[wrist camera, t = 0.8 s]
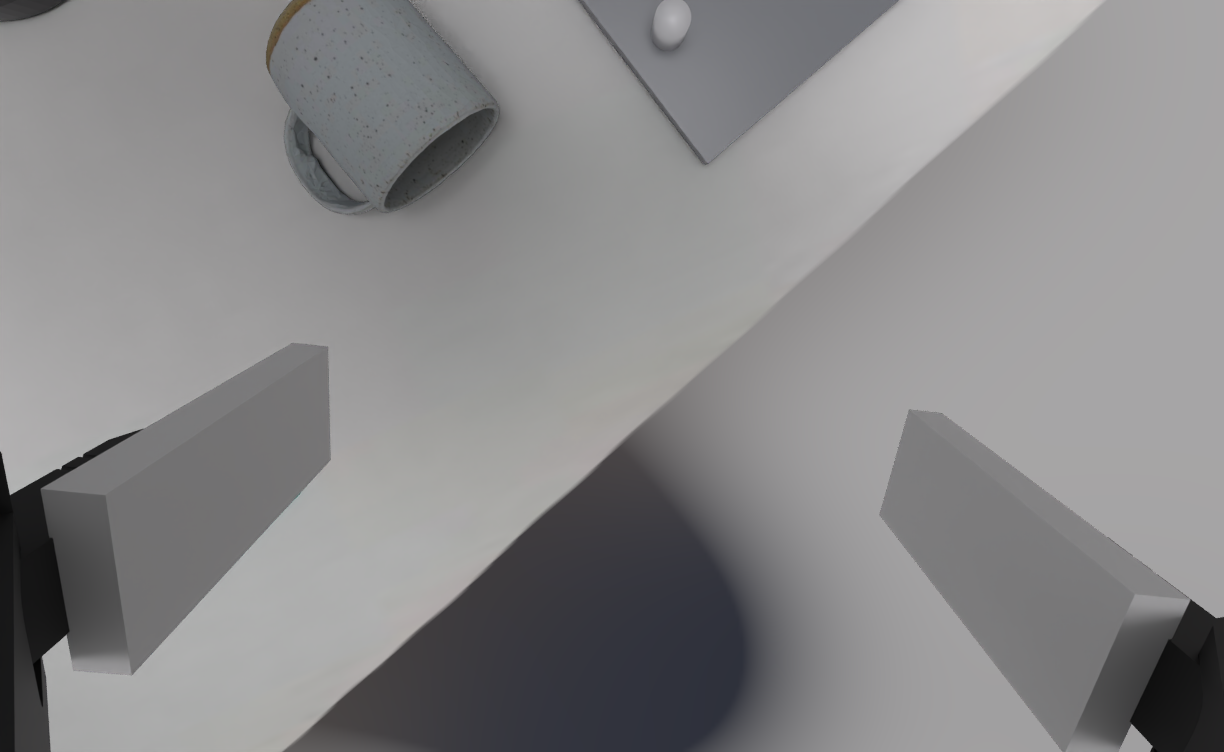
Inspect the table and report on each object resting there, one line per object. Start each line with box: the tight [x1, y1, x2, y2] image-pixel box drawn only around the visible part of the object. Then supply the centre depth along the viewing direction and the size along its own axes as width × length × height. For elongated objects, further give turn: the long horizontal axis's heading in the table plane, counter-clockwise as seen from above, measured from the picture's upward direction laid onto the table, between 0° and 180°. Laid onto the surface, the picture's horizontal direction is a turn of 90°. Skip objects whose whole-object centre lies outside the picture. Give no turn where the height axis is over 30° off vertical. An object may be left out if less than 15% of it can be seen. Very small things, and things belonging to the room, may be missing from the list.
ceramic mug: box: [266, 0, 499, 215], centre depth 30 cm, size 11×8×8 cm
